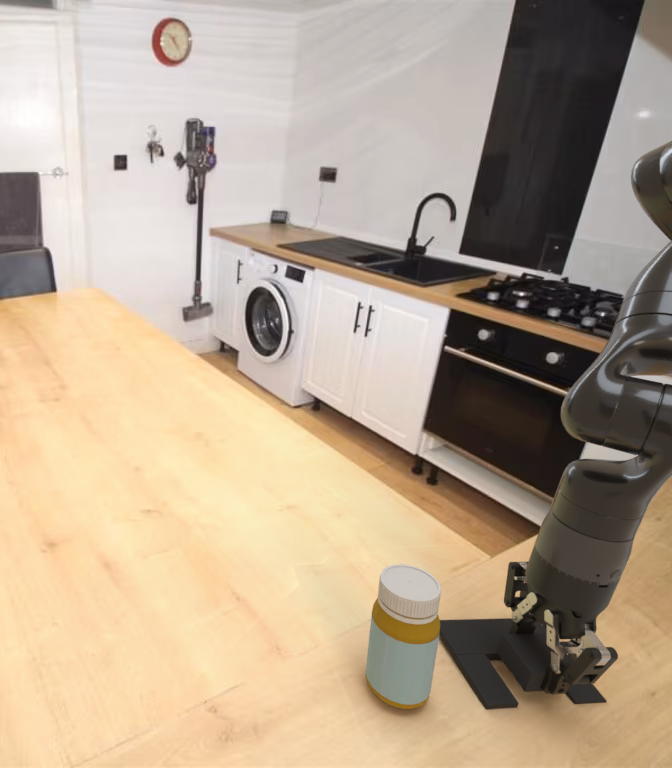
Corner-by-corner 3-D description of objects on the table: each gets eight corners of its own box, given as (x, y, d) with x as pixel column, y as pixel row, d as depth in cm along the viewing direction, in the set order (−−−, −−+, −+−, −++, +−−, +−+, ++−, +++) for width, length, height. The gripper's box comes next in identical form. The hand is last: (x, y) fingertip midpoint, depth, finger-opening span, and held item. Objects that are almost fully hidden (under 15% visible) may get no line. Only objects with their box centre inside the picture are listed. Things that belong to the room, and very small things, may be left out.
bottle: (380, 653, 69) (392, 553, 64) (438, 685, 64) (455, 580, 59) (354, 687, 64) (364, 583, 59) (414, 724, 59) (431, 614, 54)
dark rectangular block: (538, 650, 66) (545, 632, 65) (570, 690, 62) (578, 672, 60) (495, 651, 66) (502, 633, 65) (524, 692, 61) (531, 673, 60)
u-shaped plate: (534, 623, 73) (536, 617, 73) (604, 707, 62) (607, 701, 62) (432, 625, 73) (434, 619, 72) (485, 710, 62) (487, 704, 61)
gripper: (501, 513, 63) (468, 620, 70) (596, 608, 50) (544, 728, 57) (563, 512, 64) (524, 619, 70) (673, 606, 51) (613, 726, 57)
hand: (533, 667), depth 64 cm, fingers closed on dark rectangular block, 5 cm apart
